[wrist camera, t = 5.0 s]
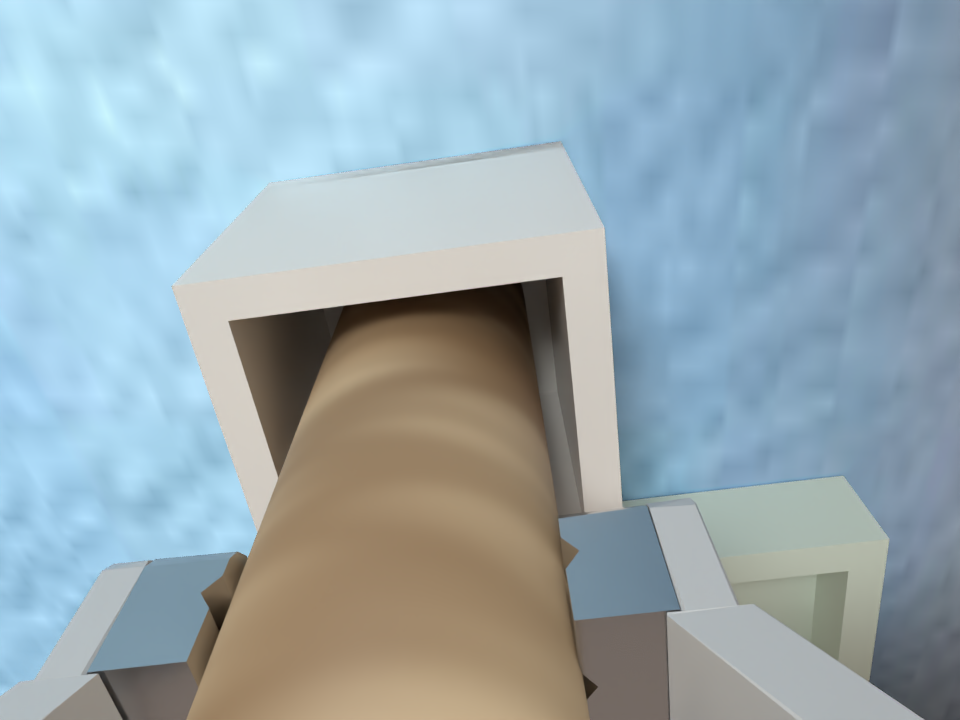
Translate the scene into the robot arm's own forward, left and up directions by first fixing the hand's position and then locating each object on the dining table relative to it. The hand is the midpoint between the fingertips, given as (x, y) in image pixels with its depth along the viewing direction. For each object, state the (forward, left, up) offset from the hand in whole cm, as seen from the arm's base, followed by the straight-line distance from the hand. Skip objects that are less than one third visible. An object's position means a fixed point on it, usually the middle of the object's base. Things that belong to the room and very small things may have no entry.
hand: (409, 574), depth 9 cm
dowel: (0, 0, -8) cm, 8 cm away
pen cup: (0, 0, -8) cm, 8 cm away
